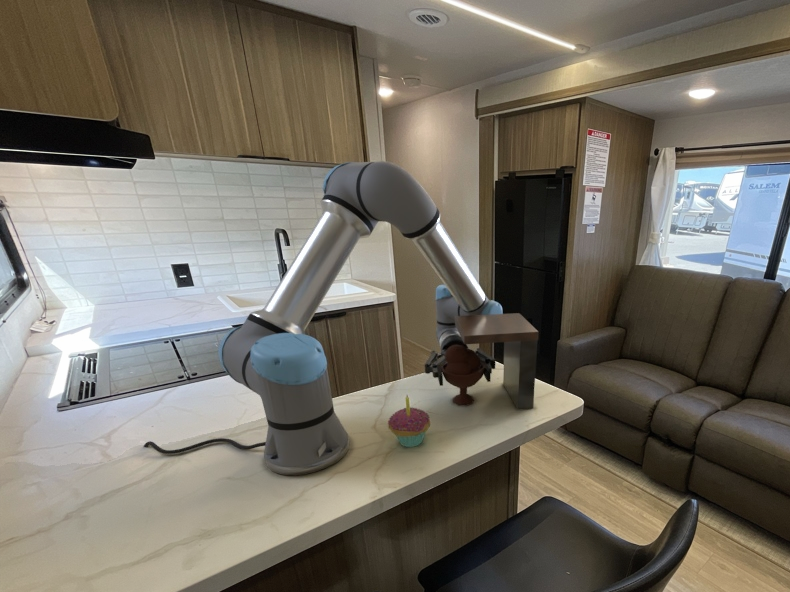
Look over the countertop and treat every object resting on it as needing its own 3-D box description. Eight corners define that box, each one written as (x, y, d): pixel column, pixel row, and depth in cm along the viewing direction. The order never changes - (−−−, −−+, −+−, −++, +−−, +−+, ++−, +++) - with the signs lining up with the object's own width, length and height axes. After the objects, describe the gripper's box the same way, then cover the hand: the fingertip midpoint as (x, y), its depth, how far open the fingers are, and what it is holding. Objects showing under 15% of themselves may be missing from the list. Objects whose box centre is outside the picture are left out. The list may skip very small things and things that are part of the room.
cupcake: (433, 449, 82) (430, 397, 77) (390, 455, 80) (384, 402, 75) (428, 427, 90) (425, 379, 85) (389, 432, 88) (384, 383, 83)
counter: (465, 416, 95) (464, 335, 87) (456, 387, 109) (454, 316, 101) (533, 409, 99) (538, 331, 91) (516, 382, 113) (519, 313, 105)
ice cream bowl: (466, 415, 95) (464, 356, 89) (433, 401, 101) (429, 345, 95) (493, 399, 103) (494, 344, 97) (461, 387, 109) (460, 335, 103)
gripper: (493, 356, 119) (512, 388, 99) (413, 362, 114) (416, 396, 94) (493, 332, 116) (513, 360, 96) (411, 337, 111) (414, 367, 91)
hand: (465, 378), depth 95 cm, fingers closed on ice cream bowl, 11 cm apart
